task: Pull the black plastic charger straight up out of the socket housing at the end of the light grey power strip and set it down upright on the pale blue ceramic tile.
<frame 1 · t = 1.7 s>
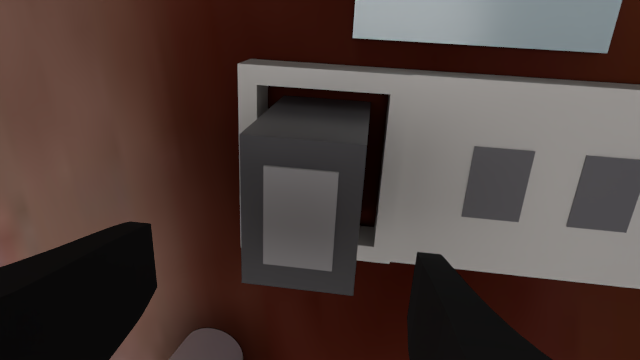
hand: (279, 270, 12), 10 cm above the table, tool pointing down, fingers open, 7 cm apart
power strip: (429, 165, 20), on the table
charger: (323, 155, 21), resting in power strip
smoothie: (214, 350, 26), on the table
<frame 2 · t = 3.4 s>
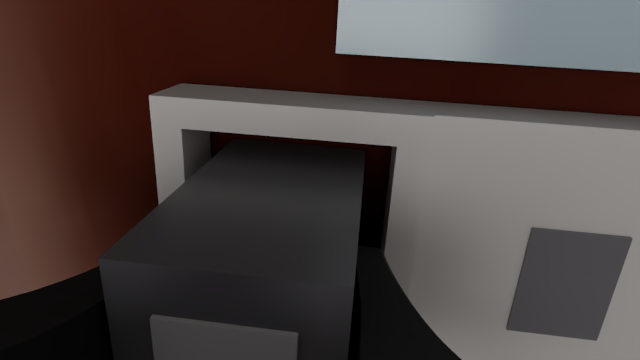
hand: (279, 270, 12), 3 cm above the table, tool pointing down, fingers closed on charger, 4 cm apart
power strip: (454, 242, 14), on the table
charger: (296, 225, 14), resting in power strip, touching gripper
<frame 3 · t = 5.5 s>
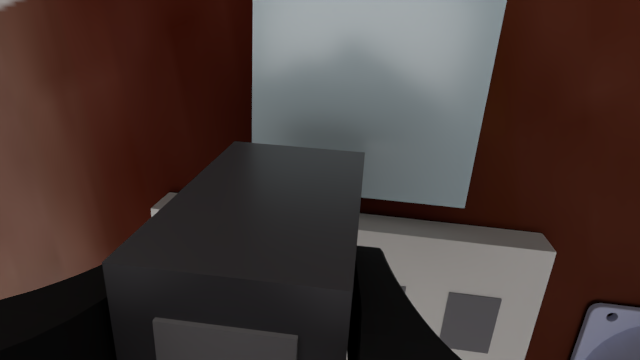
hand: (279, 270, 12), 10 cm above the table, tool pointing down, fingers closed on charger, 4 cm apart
power strip: (328, 283, 23), on the table
charger: (296, 227, 14), point 7 cm above the table, touching gripper
tile: (365, 97, 20), on the table
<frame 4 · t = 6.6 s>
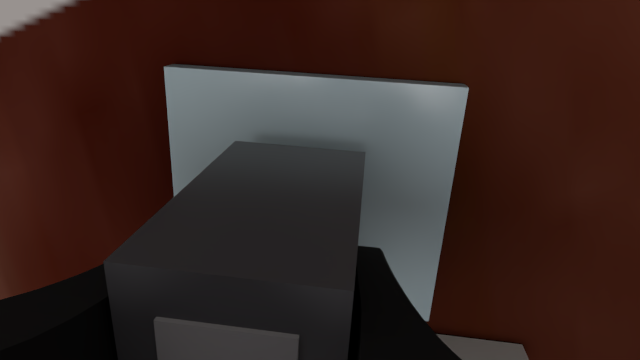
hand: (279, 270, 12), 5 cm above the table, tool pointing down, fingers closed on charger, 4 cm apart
charger: (296, 227, 14), point 3 cm above the table, touching gripper
tile: (309, 194, 17), on the table
when the fingers open (4 cm above the table, at t = 7.6 s): charger stays where it is, resting on tile.
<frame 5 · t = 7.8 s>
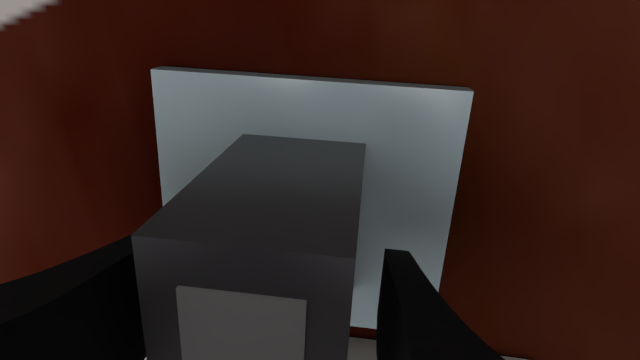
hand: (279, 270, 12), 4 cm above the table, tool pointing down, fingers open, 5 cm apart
charger: (301, 215, 15), point 1 cm above the table, touching tile
tile: (304, 203, 16), on the table
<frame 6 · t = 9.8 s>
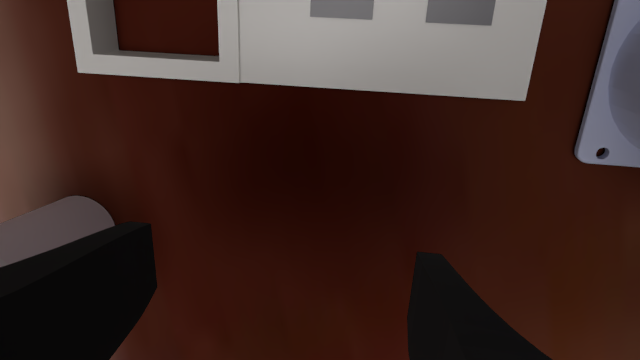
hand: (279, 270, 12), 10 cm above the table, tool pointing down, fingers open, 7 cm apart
smoothie: (86, 224, 24), on the table
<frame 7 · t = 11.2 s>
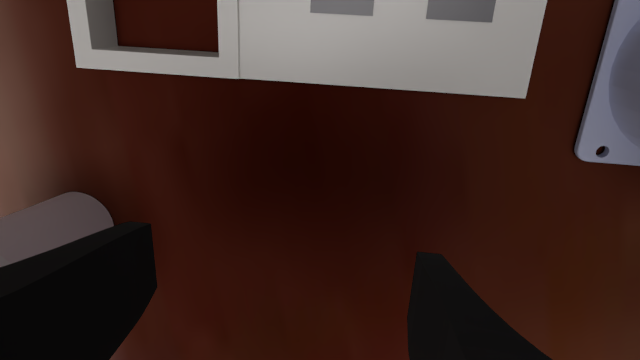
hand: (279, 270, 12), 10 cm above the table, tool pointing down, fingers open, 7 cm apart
smoothie: (84, 221, 24), on the table
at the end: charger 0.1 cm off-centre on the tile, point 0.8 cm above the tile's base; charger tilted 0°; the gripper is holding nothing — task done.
